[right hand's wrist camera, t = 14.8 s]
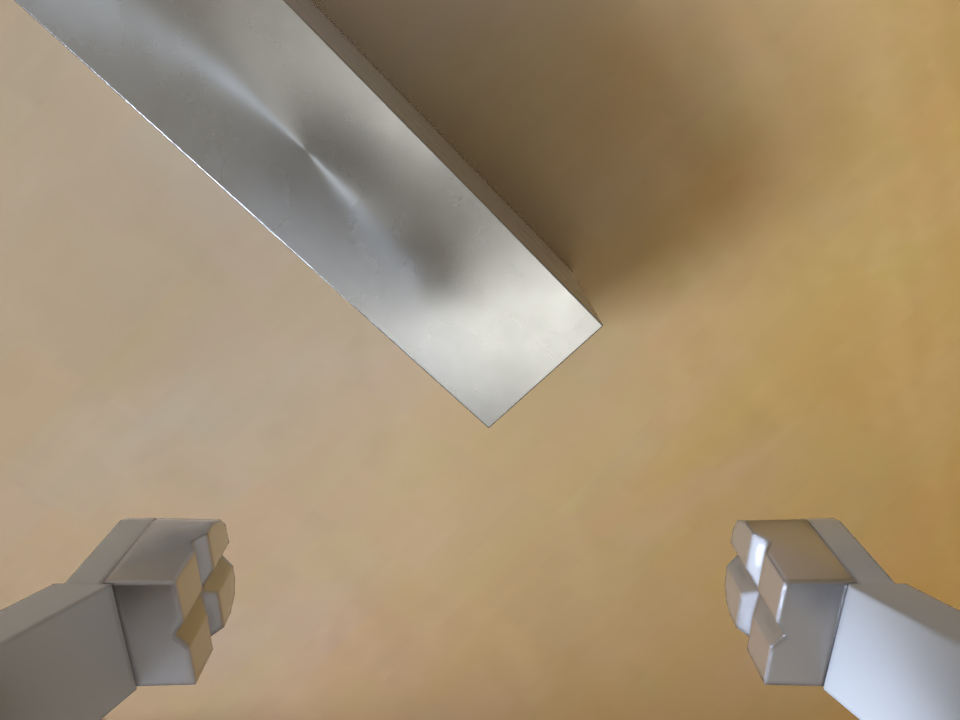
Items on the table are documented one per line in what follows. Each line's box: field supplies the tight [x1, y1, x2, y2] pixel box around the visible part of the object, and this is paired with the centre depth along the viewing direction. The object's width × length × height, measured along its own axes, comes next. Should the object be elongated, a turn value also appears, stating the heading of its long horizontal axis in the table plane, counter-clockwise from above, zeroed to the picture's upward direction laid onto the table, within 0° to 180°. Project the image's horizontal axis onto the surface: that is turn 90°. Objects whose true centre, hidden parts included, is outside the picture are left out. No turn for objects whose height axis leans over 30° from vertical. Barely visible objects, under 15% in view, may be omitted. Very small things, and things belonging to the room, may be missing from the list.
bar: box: [14, 0, 603, 428], centre depth 25 cm, size 22×6×8 cm, turn 45°
